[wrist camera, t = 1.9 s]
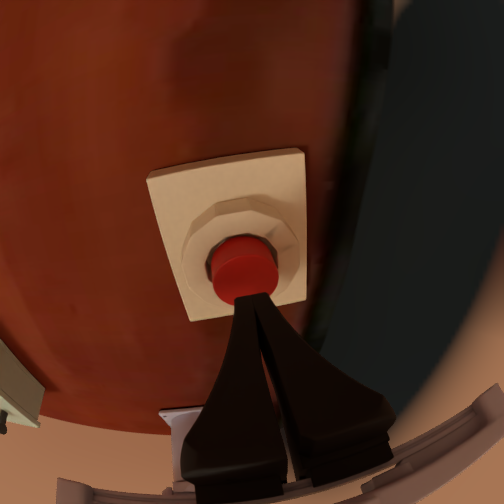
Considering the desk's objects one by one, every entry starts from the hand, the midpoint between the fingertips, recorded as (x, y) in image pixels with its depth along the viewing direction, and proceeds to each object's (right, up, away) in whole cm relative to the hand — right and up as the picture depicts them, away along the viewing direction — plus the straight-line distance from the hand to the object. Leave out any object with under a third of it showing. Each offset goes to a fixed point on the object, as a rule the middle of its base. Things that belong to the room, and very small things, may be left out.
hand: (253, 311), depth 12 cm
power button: (-1, +2, +3) cm, 4 cm away
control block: (-1, +3, +5) cm, 6 cm away
